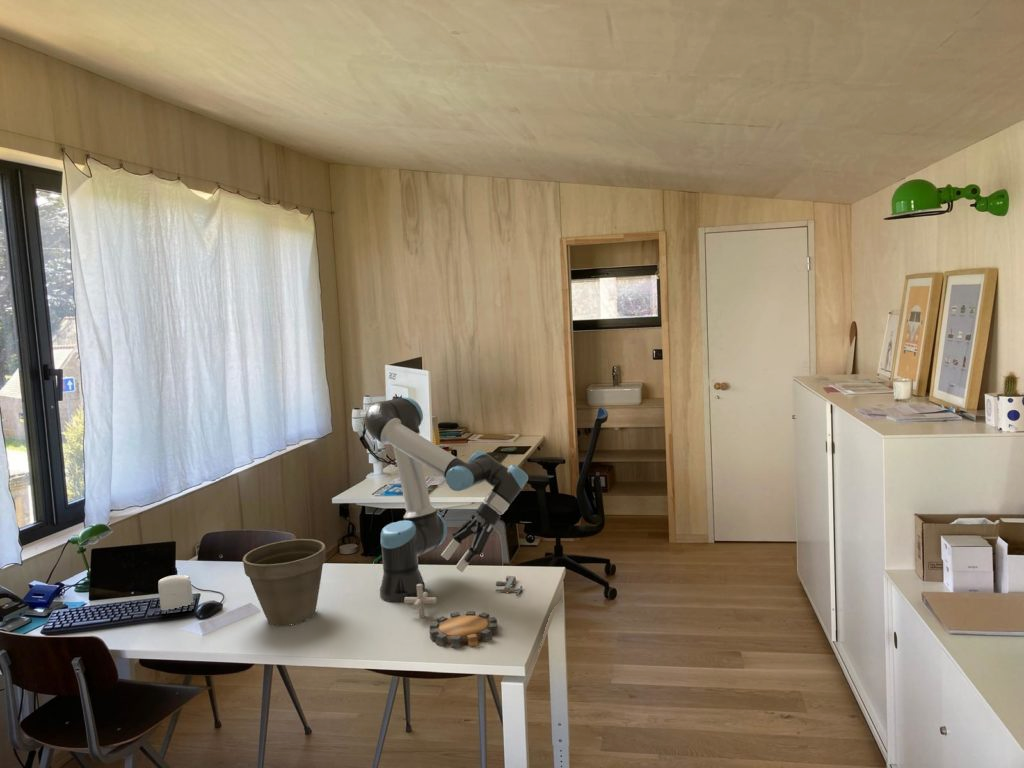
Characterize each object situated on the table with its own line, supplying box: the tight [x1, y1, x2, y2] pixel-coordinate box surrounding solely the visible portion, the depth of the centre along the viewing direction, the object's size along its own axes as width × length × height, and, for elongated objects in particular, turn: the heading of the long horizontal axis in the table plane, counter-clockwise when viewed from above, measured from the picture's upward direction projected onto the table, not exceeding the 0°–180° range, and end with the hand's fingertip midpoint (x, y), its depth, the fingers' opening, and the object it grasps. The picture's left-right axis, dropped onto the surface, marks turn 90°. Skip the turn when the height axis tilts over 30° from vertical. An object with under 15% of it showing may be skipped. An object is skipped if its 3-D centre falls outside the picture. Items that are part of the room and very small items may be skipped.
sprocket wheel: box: [429, 610, 499, 649], centre depth 222 cm, size 20×20×2 cm
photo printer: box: [157, 574, 194, 611], centre depth 253 cm, size 10×4×12 cm, turn 100°
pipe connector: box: [403, 584, 438, 618], centre depth 236 cm, size 10×10×10 cm
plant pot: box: [242, 538, 327, 627], centre depth 242 cm, size 25×25×22 cm
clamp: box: [495, 575, 524, 597], centre depth 256 cm, size 15×2×10 cm
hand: (451, 563), depth 240 cm, fingers open, 13 cm apart
